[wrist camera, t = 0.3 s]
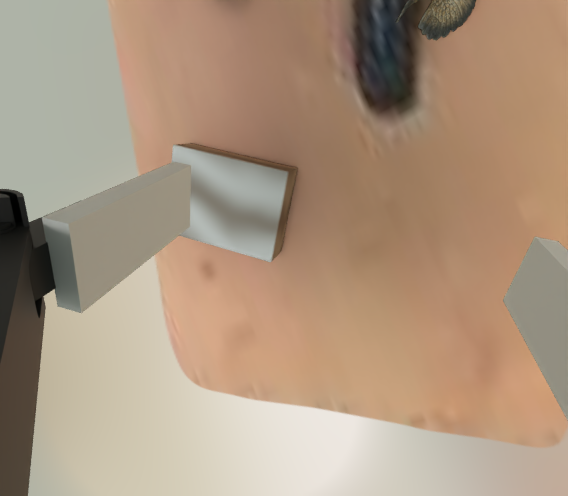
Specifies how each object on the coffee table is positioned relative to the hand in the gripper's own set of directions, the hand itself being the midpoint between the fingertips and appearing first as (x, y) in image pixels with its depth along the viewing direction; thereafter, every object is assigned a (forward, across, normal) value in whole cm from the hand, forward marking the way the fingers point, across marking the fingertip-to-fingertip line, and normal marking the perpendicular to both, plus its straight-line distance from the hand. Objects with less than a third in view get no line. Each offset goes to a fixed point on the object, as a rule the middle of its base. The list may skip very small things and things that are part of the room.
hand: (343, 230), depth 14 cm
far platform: (+26, -13, -10) cm, 31 cm away
